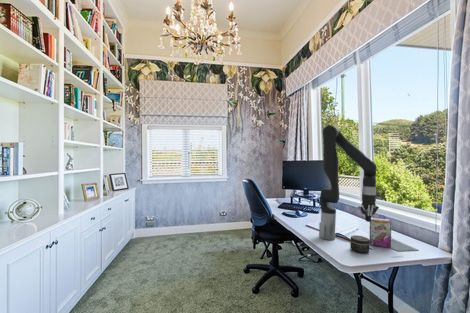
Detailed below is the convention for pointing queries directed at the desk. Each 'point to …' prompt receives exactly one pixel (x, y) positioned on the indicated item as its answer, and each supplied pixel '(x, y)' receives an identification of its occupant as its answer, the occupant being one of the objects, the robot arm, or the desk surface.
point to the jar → (359, 244)
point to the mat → (401, 246)
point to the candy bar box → (380, 232)
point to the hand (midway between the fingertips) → (368, 221)
